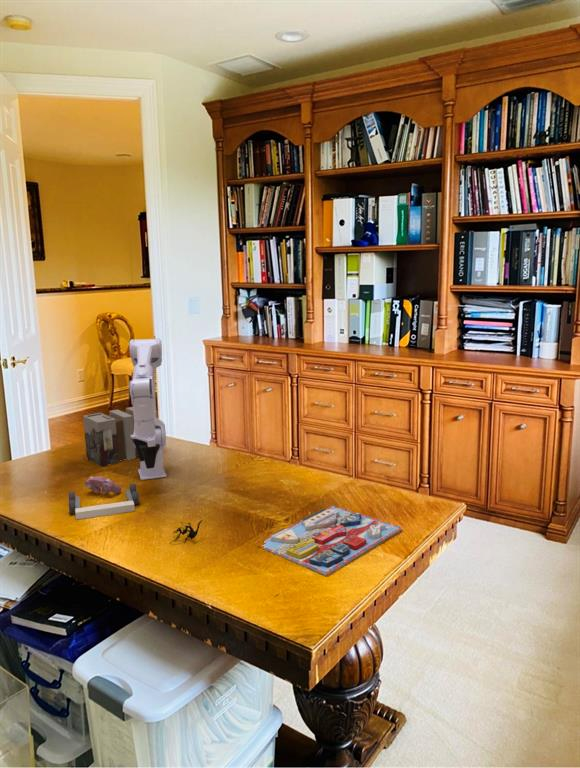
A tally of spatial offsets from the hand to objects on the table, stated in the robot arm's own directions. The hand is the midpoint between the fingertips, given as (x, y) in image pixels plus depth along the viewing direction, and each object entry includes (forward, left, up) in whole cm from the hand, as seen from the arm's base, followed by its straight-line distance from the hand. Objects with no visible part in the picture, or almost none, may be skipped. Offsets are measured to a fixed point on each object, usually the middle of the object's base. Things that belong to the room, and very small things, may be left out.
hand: (146, 464), depth 179 cm
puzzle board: (+45, +39, -11) cm, 60 cm away
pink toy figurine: (-6, -13, -10) cm, 17 cm away
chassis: (+4, -13, -9) cm, 16 cm away
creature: (+33, +5, -10) cm, 34 cm away
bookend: (-42, -4, -10) cm, 43 cm away
